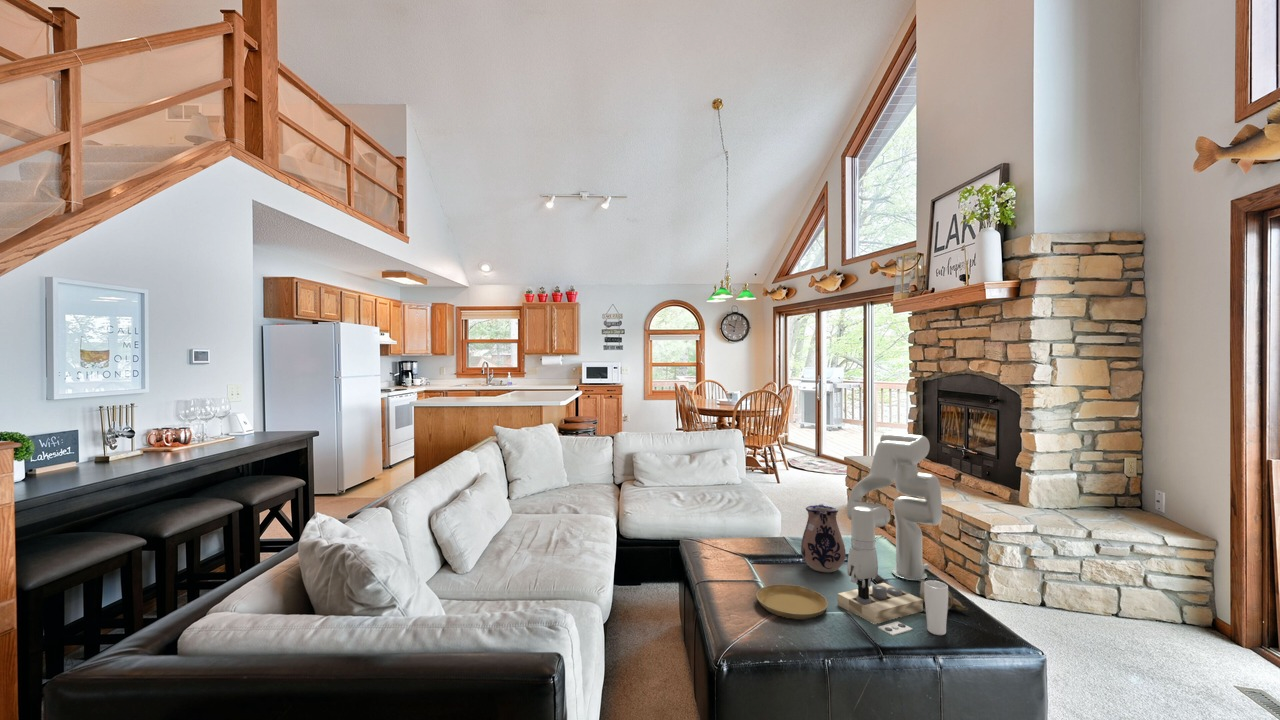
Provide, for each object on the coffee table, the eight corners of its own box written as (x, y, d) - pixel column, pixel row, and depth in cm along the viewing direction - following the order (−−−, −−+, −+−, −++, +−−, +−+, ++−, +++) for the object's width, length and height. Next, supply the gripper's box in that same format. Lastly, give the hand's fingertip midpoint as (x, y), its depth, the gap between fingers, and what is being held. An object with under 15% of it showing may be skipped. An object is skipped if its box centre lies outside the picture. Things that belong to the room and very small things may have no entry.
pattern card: (897, 622, 176) (897, 620, 176) (912, 629, 171) (912, 628, 171) (877, 628, 172) (877, 626, 172) (892, 635, 167) (892, 633, 167)
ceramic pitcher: (805, 575, 216) (805, 513, 216) (796, 557, 237) (796, 500, 237) (850, 577, 214) (850, 515, 214) (837, 559, 235) (837, 502, 235)
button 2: (893, 599, 193) (893, 586, 193) (905, 605, 189) (904, 591, 189) (884, 602, 191) (884, 588, 191) (895, 607, 187) (895, 593, 187)
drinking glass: (919, 627, 173) (919, 580, 173) (939, 626, 173) (939, 579, 174) (933, 637, 166) (932, 588, 166) (953, 636, 167) (953, 588, 167)
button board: (884, 593, 199) (884, 582, 199) (922, 611, 184) (922, 599, 184) (837, 604, 189) (837, 593, 189) (874, 624, 175) (874, 612, 175)
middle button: (878, 597, 190) (878, 584, 190) (889, 603, 186) (889, 589, 186) (869, 600, 188) (869, 586, 188) (880, 605, 184) (880, 591, 184)
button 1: (863, 607, 187) (863, 593, 187) (874, 613, 182) (874, 598, 183) (853, 610, 185) (853, 596, 185) (864, 615, 181) (864, 601, 181)
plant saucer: (839, 607, 188) (839, 597, 188) (807, 630, 171) (806, 620, 171) (778, 587, 205) (778, 578, 205) (743, 607, 188) (743, 597, 188)
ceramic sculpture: (933, 573, 196) (970, 591, 181) (932, 596, 196) (969, 616, 182) (910, 577, 192) (946, 596, 178) (909, 601, 192) (946, 622, 178)
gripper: (870, 538, 191) (870, 590, 190) (838, 543, 184) (838, 597, 184) (887, 544, 184) (888, 598, 183) (855, 550, 177) (856, 606, 177)
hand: (863, 597), depth 184 cm, fingers closed
